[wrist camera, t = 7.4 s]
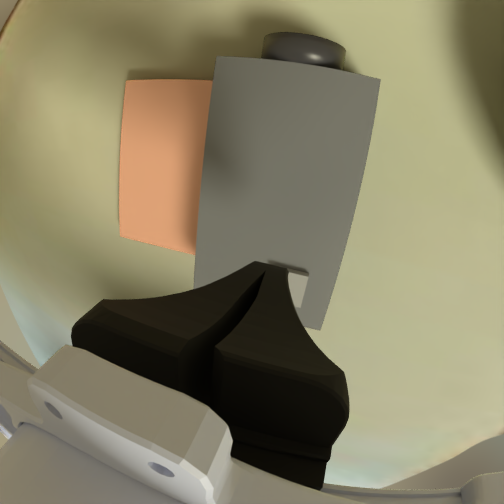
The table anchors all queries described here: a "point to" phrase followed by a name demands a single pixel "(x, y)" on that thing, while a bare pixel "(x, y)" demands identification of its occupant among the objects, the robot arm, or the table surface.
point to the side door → (162, 160)
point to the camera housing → (284, 165)
